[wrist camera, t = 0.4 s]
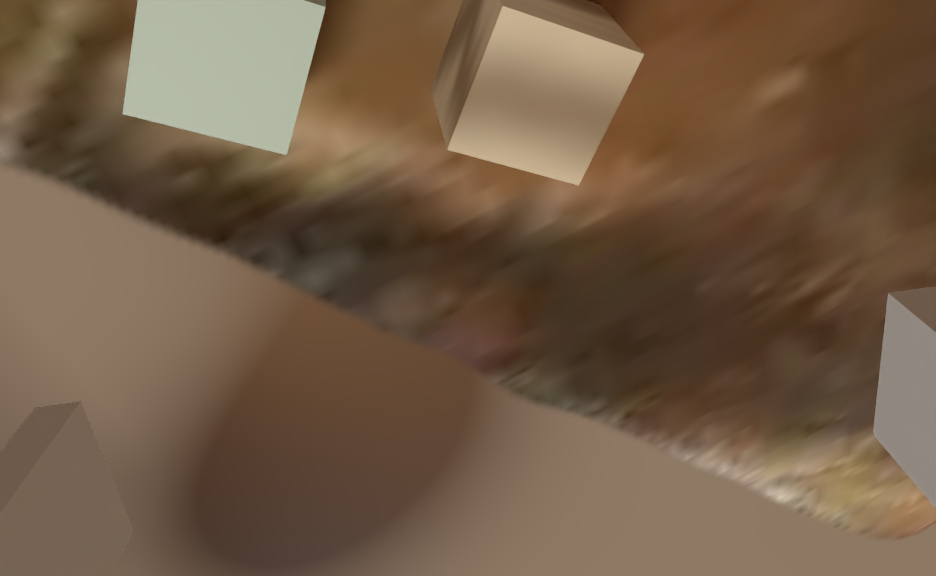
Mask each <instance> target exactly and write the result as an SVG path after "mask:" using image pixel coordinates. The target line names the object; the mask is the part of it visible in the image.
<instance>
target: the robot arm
mask: <svg viewBox="0 0 936 576" xmlns="http://www.w3.org/2000/svg"><path fill="white" fill-rule="evenodd" d="M873 435H874V436H875V437H876V438H877V439H878V441H879V442H880V443H881V444H882V445H883V446H884V448H885V449H886V450H887V451H888V452H889V454H890V455H891V456H892V457H893V458H894V459H895V461H896V462H897V463H898V464H899V465H900V467H901V468H902V469H903V470H904V471H905V472H906V474H907V475H908V476H909V477H910V478H911V480H912V481H913V482H914V483H915V484H916V485H917V487H918V488H919V489H920V490H921V491H922V493H923V494H924V495H925V496H926V497H927V498H928V500H929V501H930V502H931V503H932V504H933V506H934V507H935V508H936V287H930V288H922V289H915V290H907V291H900V292H892V293H888V300H887V309H886V319H885V328H884V337H883V346H882V356H881V365H880V374H879V383H878V393H877V402H876V411H875V420H874V430H873ZM132 533H133V529H132V526H131V524H130V521H129V519H128V516H127V514H126V512H125V509H124V507H123V504H122V502H121V499H120V497H119V494H118V492H117V489H116V487H115V484H114V482H113V480H112V477H111V475H110V472H109V470H108V467H107V465H106V462H105V460H104V457H103V455H102V452H101V450H100V447H99V445H98V443H97V440H96V438H95V435H94V433H93V430H92V428H91V425H90V423H89V421H88V418H87V416H86V413H85V411H84V408H83V406H82V403H81V402H75V403H67V404H60V405H52V406H45V407H37V408H34V409H33V411H32V412H31V413H30V414H29V416H28V417H27V418H26V419H25V420H24V422H23V423H22V424H21V425H20V427H19V428H18V429H17V430H16V432H15V433H14V434H13V435H12V437H11V438H10V439H9V440H8V442H7V443H6V444H5V445H4V447H3V448H2V449H1V450H0V576H112V574H113V572H114V570H115V568H116V566H117V564H118V562H119V560H120V558H121V555H122V553H123V551H124V549H125V547H126V545H127V543H128V541H129V539H130V537H131V535H132Z"/></svg>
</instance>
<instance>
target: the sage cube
mask: <svg viewBox="0 0 936 576" xmlns="http://www.w3.org/2000/svg"><path fill="white" fill-rule="evenodd" d="M325 8H326V0H138V3H137V11H136V18H135V26H134V33H133V40H132V48H131V55H130V63H129V70H128V78H127V85H126V92H125V100H124V107H123V114H125V115H129V116H133V117H137V118H141V119H145V120H149V121H153V122H157V123H161V124H165V125H169V126H173V127H177V128H181V129H185V130H189V131H193V132H197V133H201V134H205V135H209V136H212V137H216V138H220V139H224V140H228V141H232V142H236V143H240V144H244V145H248V146H252V147H256V148H260V149H264V150H268V151H272V152H276V153H280V154H284V155H287V152H288V148H289V144H290V140H291V136H292V133H293V129H294V125H295V121H296V118H297V114H298V110H299V106H300V102H301V99H302V95H303V91H304V87H305V84H306V80H307V76H308V72H309V68H310V65H311V61H312V57H313V53H314V50H315V46H316V42H317V38H318V34H319V31H320V27H321V23H322V19H323V16H324V12H325Z"/></svg>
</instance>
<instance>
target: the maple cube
mask: <svg viewBox="0 0 936 576" xmlns="http://www.w3.org/2000/svg"><path fill="white" fill-rule="evenodd" d="M643 56H644V53H643V52H642V51H641V50H640V49H639V48H638V46H637V45H636V44H635V43H634V42H633V41H632V40H631V39H630V37H629V36H628V35H627V34H626V33H625V32H624V31H623V29H622V28H621V27H620V26H619V25H618V24H617V23H616V21H615V20H614V19H613V18H612V17H611V16H610V15H609V14H608V12H607V11H606V10H605V9H604V8H603V7H602V6H601V5H599V4H596V3H593V2H591V1H588V0H463V1H462V4H461V7H460V10H459V13H458V15H457V18H456V21H455V24H454V27H453V29H452V32H451V35H450V38H449V41H448V43H447V46H446V49H445V52H444V55H443V57H442V60H441V63H440V66H439V69H438V71H437V74H436V77H435V80H434V83H433V85H432V88H431V93H432V97H433V100H434V104H435V107H436V111H437V115H438V118H439V122H440V126H441V129H442V133H443V136H444V140H445V144H446V147H447V150H450V151H454V152H458V153H461V154H465V155H469V156H472V157H476V158H480V159H483V160H487V161H491V162H494V163H498V164H502V165H505V166H509V167H513V168H517V169H520V170H524V171H528V172H531V173H535V174H539V175H542V176H546V177H550V178H553V179H557V180H561V181H564V182H568V183H572V184H576V185H579V184H580V182H581V180H582V178H583V176H584V174H585V172H586V170H587V168H588V166H589V164H590V162H591V160H592V158H593V156H594V154H595V152H596V150H597V148H598V146H599V144H600V142H601V140H602V138H603V136H604V134H605V132H606V130H607V128H608V126H609V124H610V122H611V120H612V118H613V116H614V114H615V112H616V110H617V108H618V106H619V104H620V102H621V100H622V98H623V96H624V94H625V92H626V90H627V88H628V86H629V84H630V82H631V80H632V78H633V76H634V74H635V72H636V70H637V68H638V66H639V64H640V62H641V60H642V58H643Z"/></svg>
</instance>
